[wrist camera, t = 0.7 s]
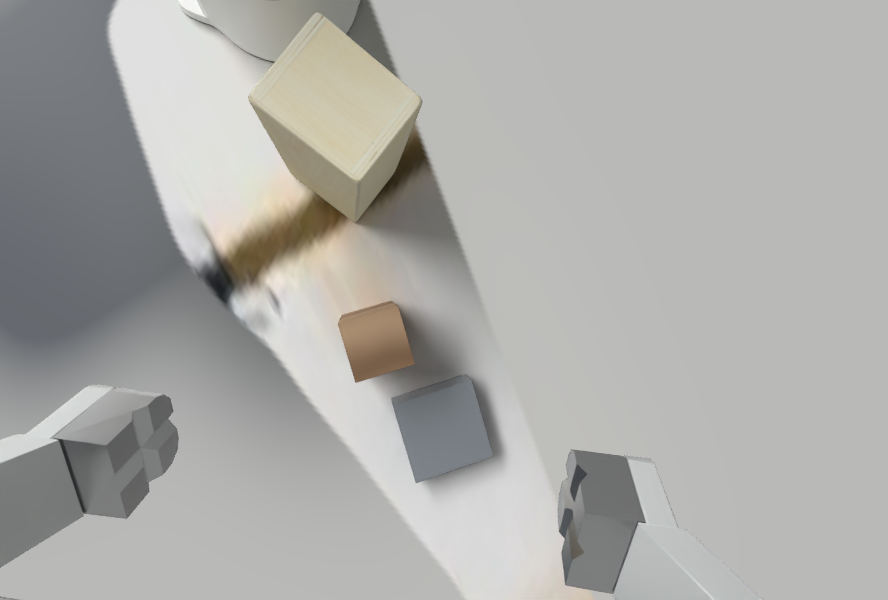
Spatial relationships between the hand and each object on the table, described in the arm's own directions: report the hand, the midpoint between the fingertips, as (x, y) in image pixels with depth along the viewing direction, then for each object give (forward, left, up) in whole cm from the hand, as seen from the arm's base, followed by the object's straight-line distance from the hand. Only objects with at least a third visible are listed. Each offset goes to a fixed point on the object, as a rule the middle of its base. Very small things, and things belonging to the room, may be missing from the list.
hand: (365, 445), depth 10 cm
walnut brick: (+2, +1, -41) cm, 41 cm away
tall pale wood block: (-14, +3, -41) cm, 44 cm away
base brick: (+13, +5, -41) cm, 43 cm away
